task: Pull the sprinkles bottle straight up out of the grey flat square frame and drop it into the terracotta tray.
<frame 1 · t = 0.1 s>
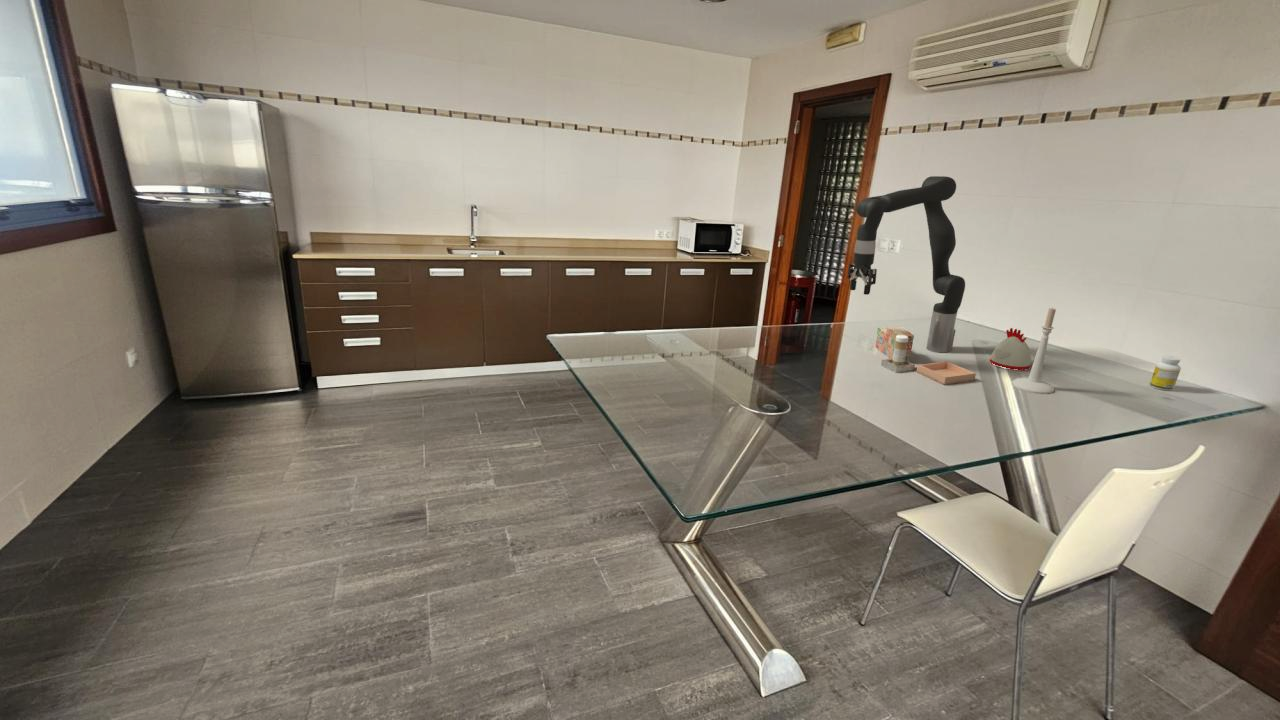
hand: (859, 292, 216), 29 cm above the table, tool pointing down, fingers open, 8 cm apart
grey flat square frame: (897, 367, 216), on the table
candlestick: (1032, 387, 196), on the table
sprinkles bottle: (897, 368, 216), resting in grey flat square frame
pill bottle: (1160, 388, 194), on the table
tray: (944, 376, 207), on the table
colourful printed box: (891, 355, 232), on the table
kitchen timer: (1009, 365, 219), on the table
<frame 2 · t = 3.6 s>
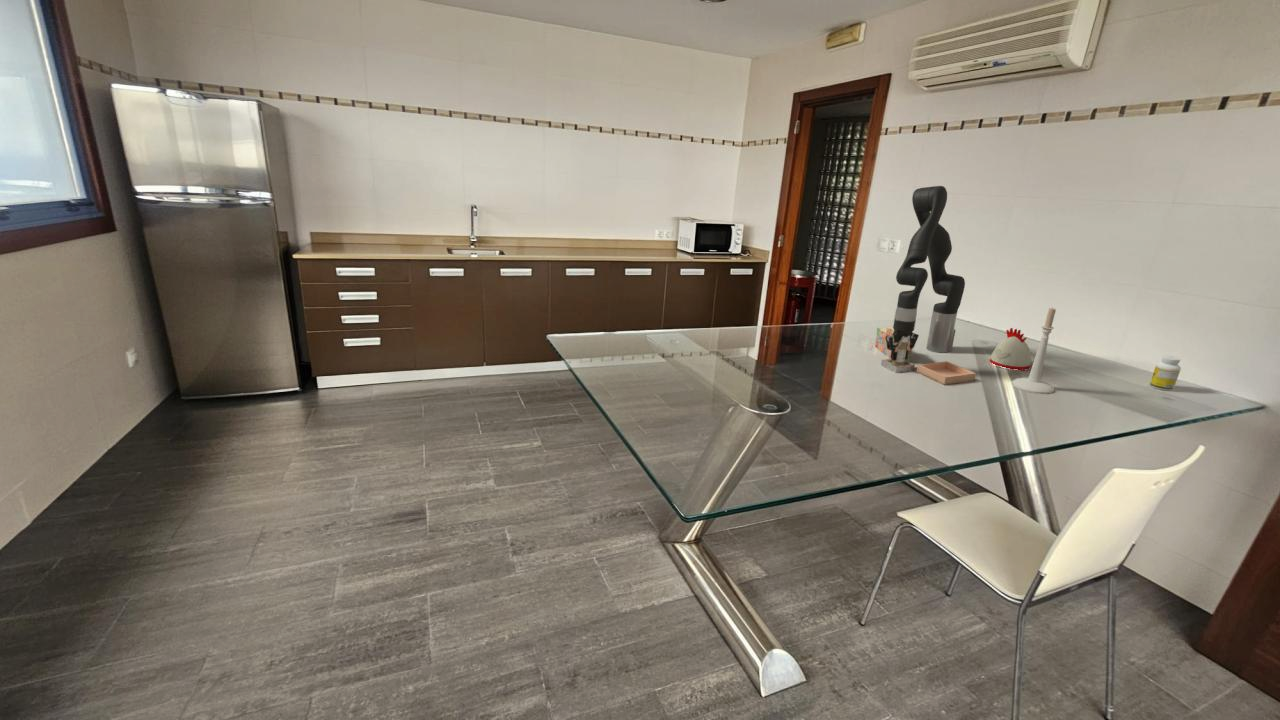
hand: (898, 359, 215), 4 cm above the table, tool pointing down, fingers closed on sprinkles bottle, 4 cm apart
sprinkles bottle: (897, 368, 216), resting in grey flat square frame, touching gripper
everything else where it was.
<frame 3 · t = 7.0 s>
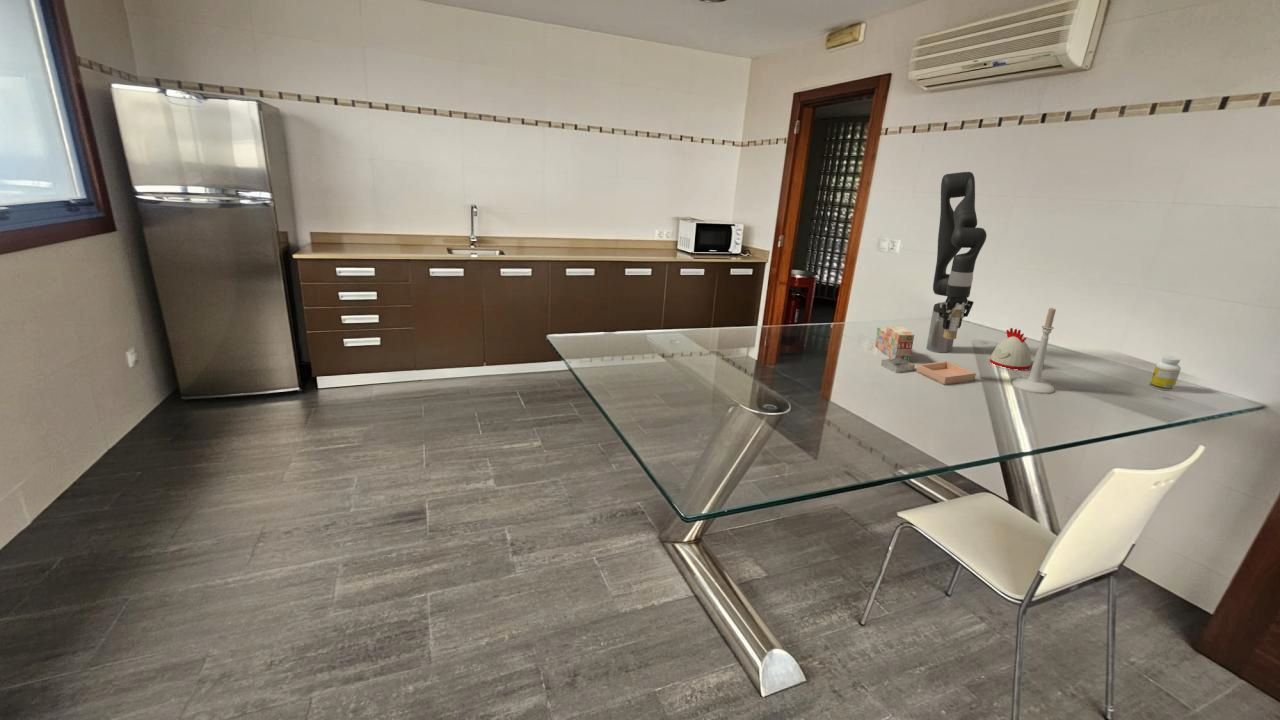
hand: (951, 328, 201), 19 cm above the table, tool pointing down, fingers closed on sprinkles bottle, 4 cm apart
sprinkles bottle: (949, 338, 202), point 15 cm above the table, touching gripper
everything else where it was.
when the fingers open (7 cm above the table, at t = 10.3 s): sprinkles bottle drops 2 cm, resting on tray.
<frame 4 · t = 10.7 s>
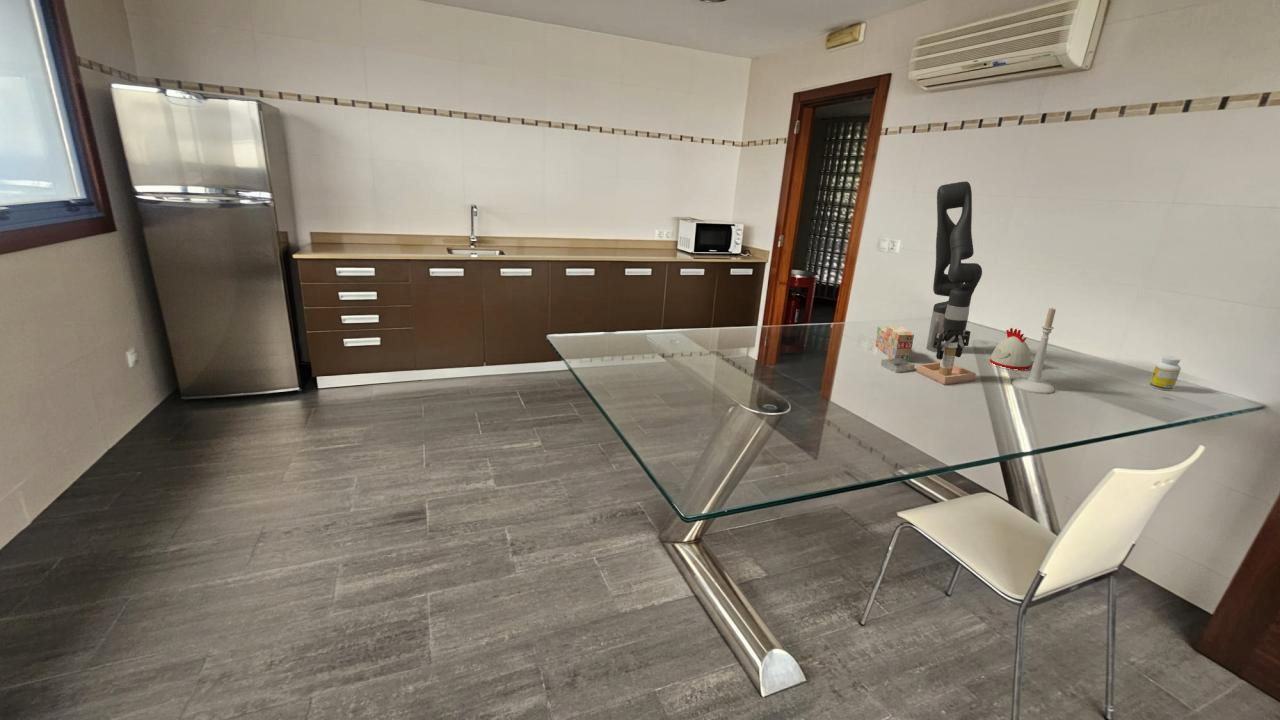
hand: (948, 357, 205), 8 cm above the table, tool pointing down, fingers open, 8 cm apart
sprinkles bottle: (944, 375, 207), resting on tray
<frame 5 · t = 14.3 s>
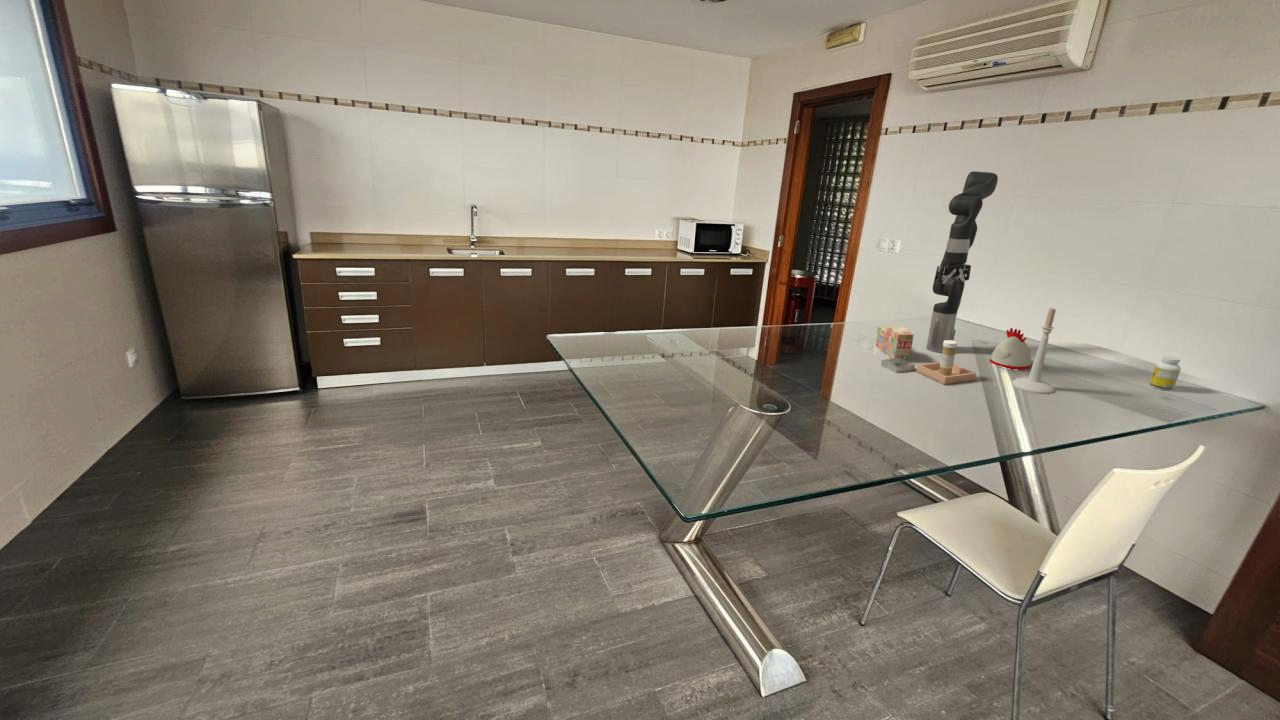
hand: (949, 292, 210), 30 cm above the table, tool pointing down, fingers open, 8 cm apart
at the end: sprinkles bottle inside the target area on the tray (0.1 cm from its centre), point 0.4 cm above the tray's base; the gripper is holding nothing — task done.
